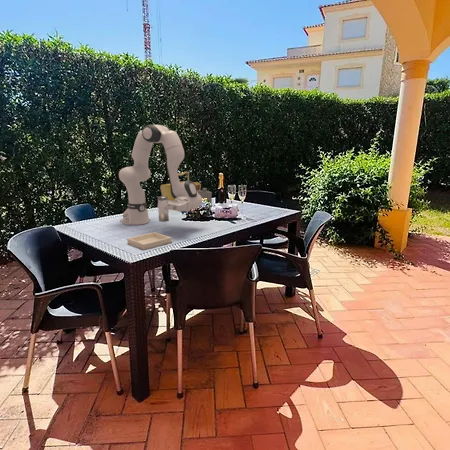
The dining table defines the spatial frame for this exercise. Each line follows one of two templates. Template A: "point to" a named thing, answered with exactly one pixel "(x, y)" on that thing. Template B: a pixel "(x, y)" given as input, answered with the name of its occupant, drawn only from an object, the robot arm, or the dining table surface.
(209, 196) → the hip flask
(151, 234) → the sand tray
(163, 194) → the picnic basket
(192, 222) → the dining table surface
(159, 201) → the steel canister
